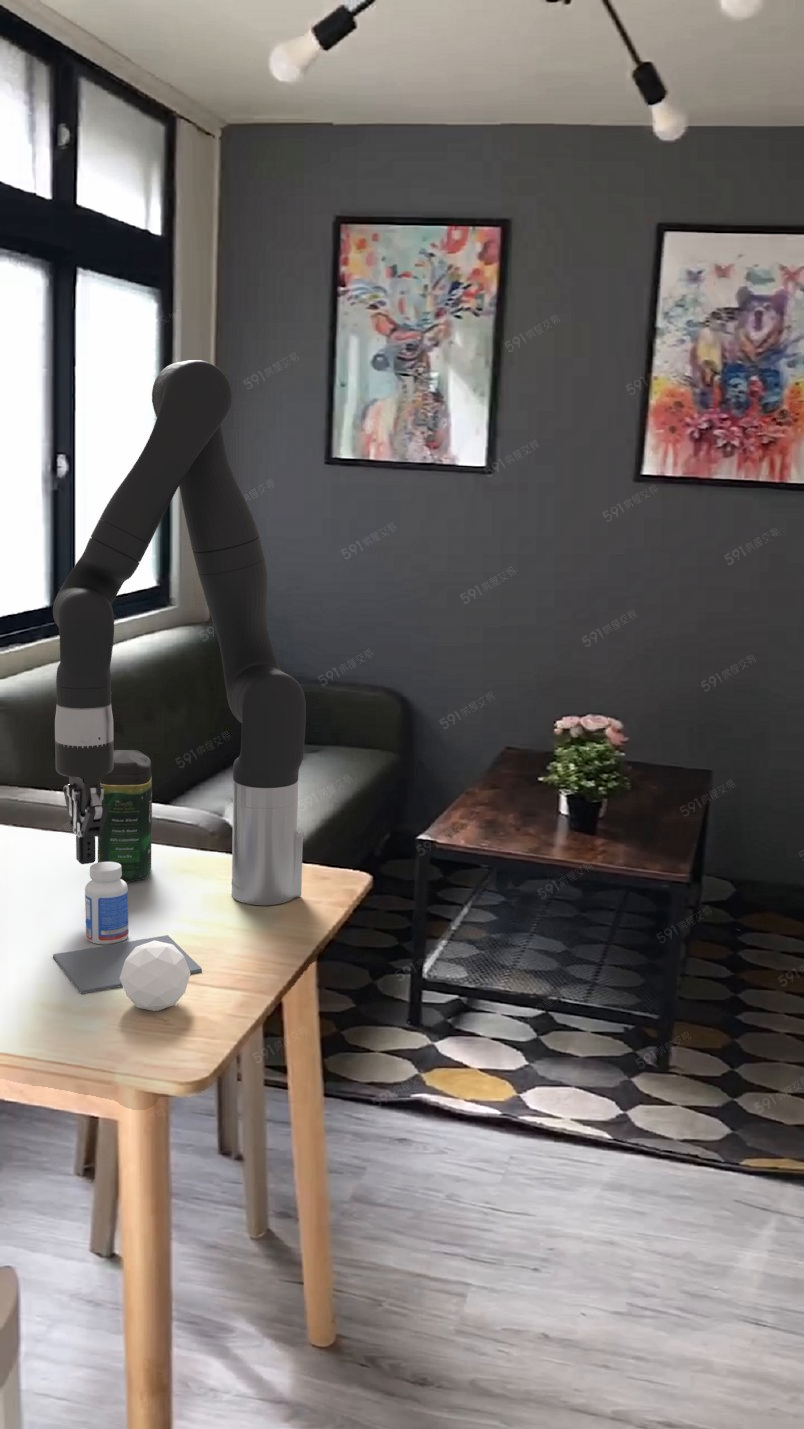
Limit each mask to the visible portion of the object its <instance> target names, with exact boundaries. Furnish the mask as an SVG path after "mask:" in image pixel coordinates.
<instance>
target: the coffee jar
mask: <svg viewBox="0 0 804 1429" xmlns="http://www.w3.org/2000/svg"><path fill="white" fill-rule="evenodd" d="M152 779H153V778H152V761H151V759H150V758H149V756H147V755H146V754H144V753H142V752H141V751H140V750H136V749H135V750H134V749H127V750H126V749H124V750H123V749H114V768H113V770H112V772H110V773H109V774H107V775H103V776H102V777H101V778H100V784H101V786H102V787H103V790H104V798H103V800H102V805H107V806H108V814H107V817H106V820H105V824H104V827H103V830H102V833H101V835H97V863H99V862H116V863H119V864H120V865H121V868H122V876H121V878H120V879H122V880H123V881H125V882H126V884H128V883H130V882H133V881H139V880H140V881H141V880H145V879H147V877H149V874H150V872H151V870H152V831H153V830H152V828H153V827H152V825H153V786H152V784H153V780H152Z"/></svg>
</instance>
